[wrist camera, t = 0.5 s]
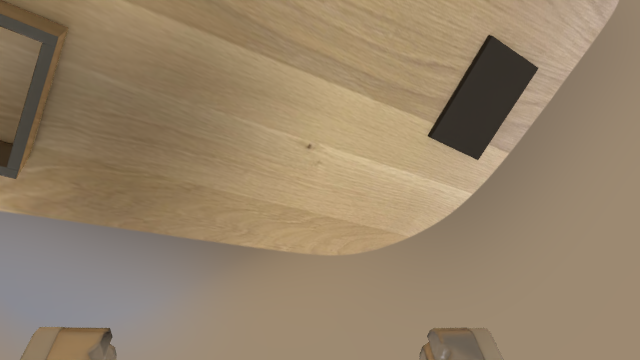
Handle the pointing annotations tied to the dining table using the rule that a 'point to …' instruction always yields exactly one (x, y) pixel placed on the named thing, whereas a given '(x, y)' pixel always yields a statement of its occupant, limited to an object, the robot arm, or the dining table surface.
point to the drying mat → (483, 98)
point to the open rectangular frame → (52, 35)
